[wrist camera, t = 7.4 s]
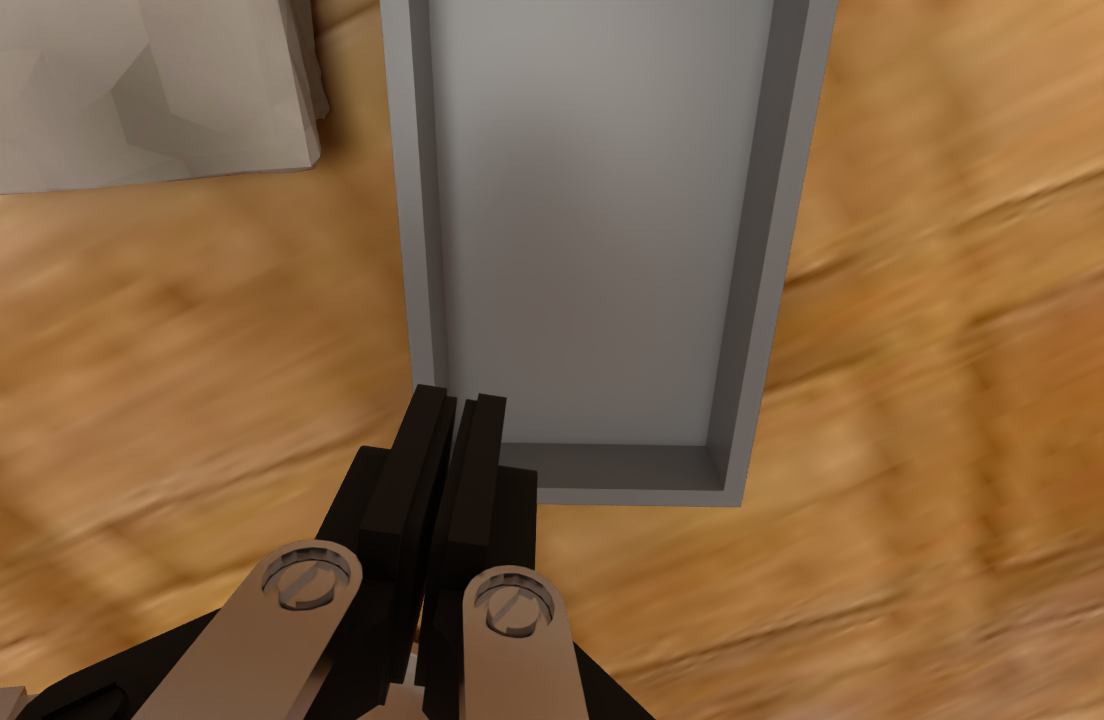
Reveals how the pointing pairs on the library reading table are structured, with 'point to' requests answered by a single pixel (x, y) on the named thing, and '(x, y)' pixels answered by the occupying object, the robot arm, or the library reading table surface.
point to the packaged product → (155, 91)
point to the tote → (603, 225)
